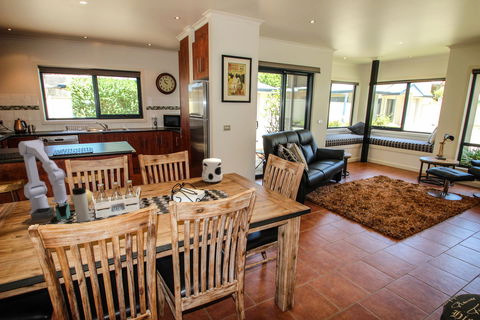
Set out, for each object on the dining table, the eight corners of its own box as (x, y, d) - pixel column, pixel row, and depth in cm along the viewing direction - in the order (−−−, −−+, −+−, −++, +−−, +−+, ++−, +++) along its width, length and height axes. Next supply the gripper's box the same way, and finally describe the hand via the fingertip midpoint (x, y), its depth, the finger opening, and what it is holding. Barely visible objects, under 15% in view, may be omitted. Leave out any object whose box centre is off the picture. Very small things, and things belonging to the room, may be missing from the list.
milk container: (198, 180, 216) (197, 160, 212) (214, 176, 228) (214, 157, 224) (210, 185, 204) (209, 163, 200) (226, 181, 216) (226, 160, 211)
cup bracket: (37, 213, 150) (36, 208, 149) (56, 211, 152) (55, 206, 151) (29, 220, 141) (28, 215, 140) (49, 218, 143) (48, 213, 143)
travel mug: (76, 224, 139) (70, 190, 134) (78, 219, 145) (73, 186, 140) (89, 222, 141) (84, 188, 137) (90, 217, 147) (86, 184, 143)
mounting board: (37, 214, 151) (37, 212, 151) (59, 212, 154) (58, 210, 154) (26, 224, 139) (26, 222, 139) (50, 221, 142) (50, 219, 142)
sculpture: (76, 201, 170) (74, 186, 168) (96, 200, 173) (94, 185, 170) (69, 208, 159) (66, 192, 157) (90, 207, 162) (87, 191, 159)
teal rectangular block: (60, 216, 149) (58, 203, 147) (70, 215, 150) (68, 202, 148) (57, 220, 144) (55, 207, 142) (67, 219, 145) (65, 206, 144)
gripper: (51, 189, 147) (54, 211, 150) (50, 196, 135) (54, 220, 138) (65, 187, 151) (69, 208, 154) (66, 194, 139) (70, 217, 142)
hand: (63, 213), depth 146 cm, fingers open, 7 cm apart
